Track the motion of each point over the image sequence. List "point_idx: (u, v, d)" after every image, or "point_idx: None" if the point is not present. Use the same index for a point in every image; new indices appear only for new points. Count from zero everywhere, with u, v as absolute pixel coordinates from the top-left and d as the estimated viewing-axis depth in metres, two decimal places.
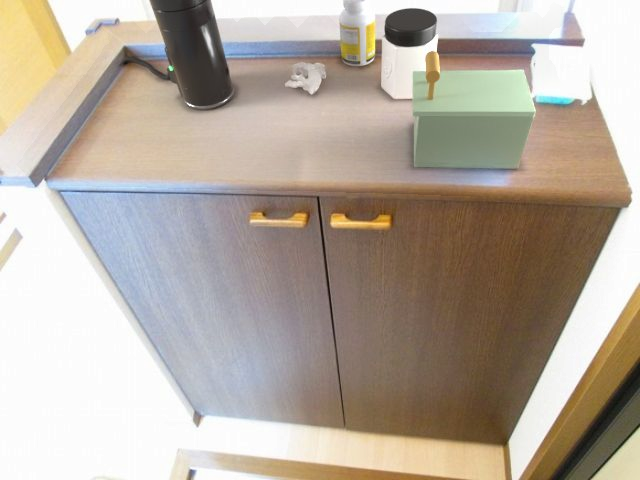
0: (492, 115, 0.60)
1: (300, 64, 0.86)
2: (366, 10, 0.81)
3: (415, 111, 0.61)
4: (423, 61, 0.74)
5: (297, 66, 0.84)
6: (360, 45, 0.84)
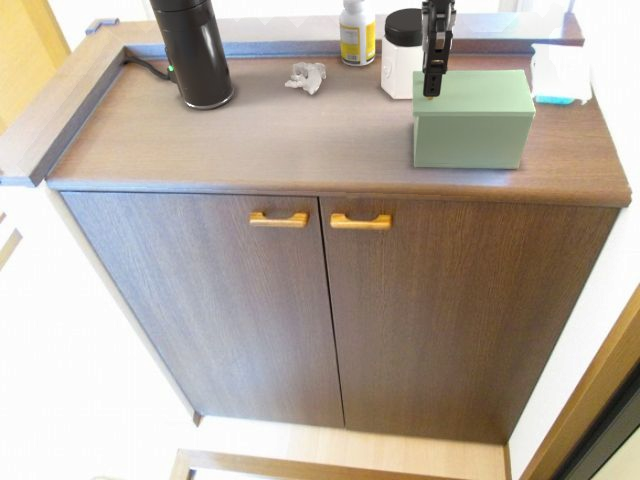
0: (492, 115, 0.60)
1: (300, 64, 0.86)
2: (366, 10, 0.81)
3: (415, 111, 0.61)
4: None
5: (297, 66, 0.84)
6: (360, 45, 0.84)
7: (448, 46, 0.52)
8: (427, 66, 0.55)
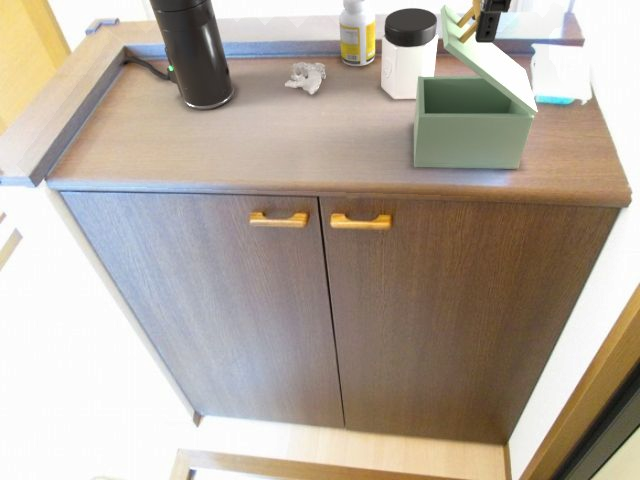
0: (505, 93, 0.57)
1: (300, 64, 0.86)
2: (366, 10, 0.81)
3: (450, 44, 0.54)
4: (423, 61, 0.74)
5: (297, 66, 0.84)
6: (360, 45, 0.84)
7: None
8: (488, 1, 0.49)
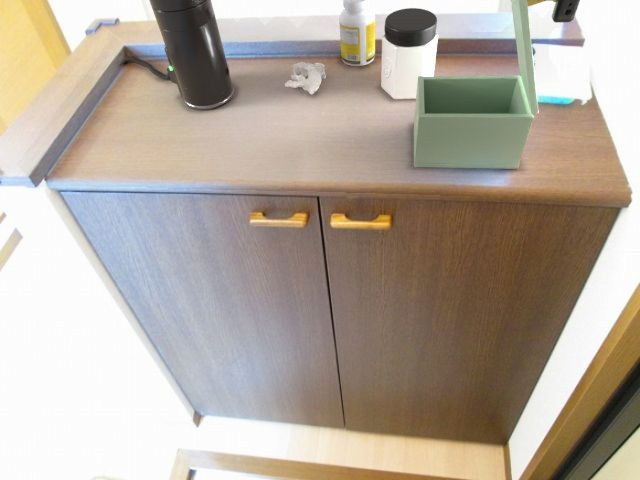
0: (529, 79, 0.56)
1: (300, 64, 0.86)
2: (366, 10, 0.81)
3: None
4: (423, 61, 0.74)
5: (297, 66, 0.84)
6: (360, 45, 0.84)
7: None
8: None
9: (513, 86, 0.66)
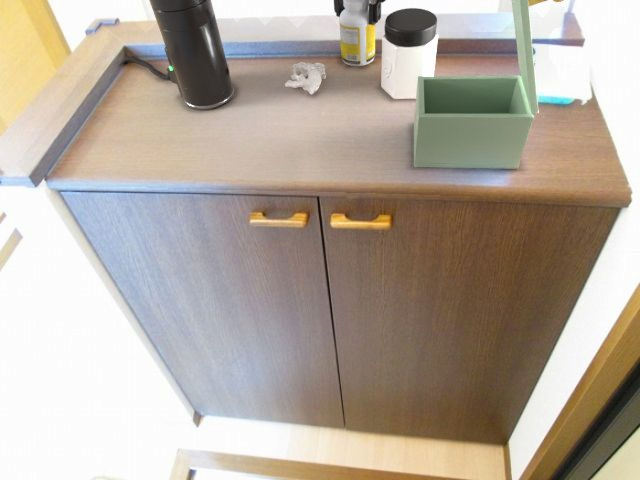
0: (529, 79, 0.56)
1: (300, 64, 0.86)
2: (366, 10, 0.81)
3: None
4: (423, 61, 0.74)
5: (297, 66, 0.84)
6: (360, 45, 0.84)
7: None
8: None
9: (513, 86, 0.66)
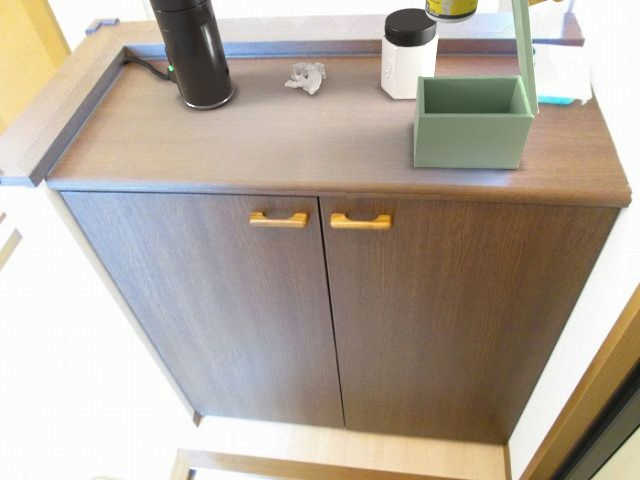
0: (529, 79, 0.56)
1: (300, 64, 0.86)
2: None
3: None
4: (423, 61, 0.74)
5: (297, 66, 0.84)
6: None
7: None
8: None
9: (513, 86, 0.66)
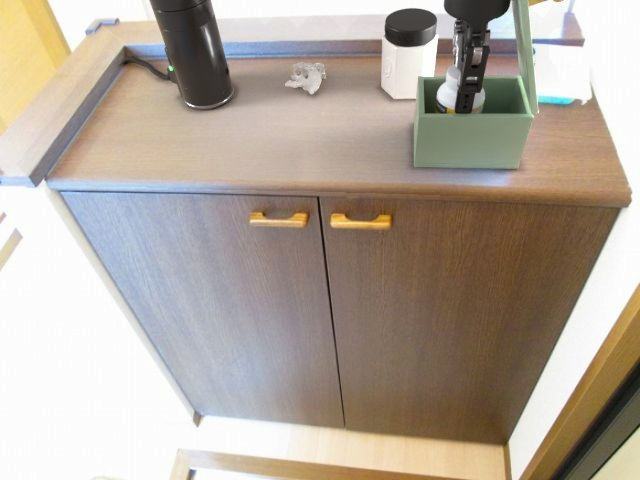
0: (529, 79, 0.56)
1: (300, 64, 0.86)
2: None
3: None
4: (423, 61, 0.74)
5: (297, 66, 0.84)
6: None
7: None
8: None
9: (513, 86, 0.66)
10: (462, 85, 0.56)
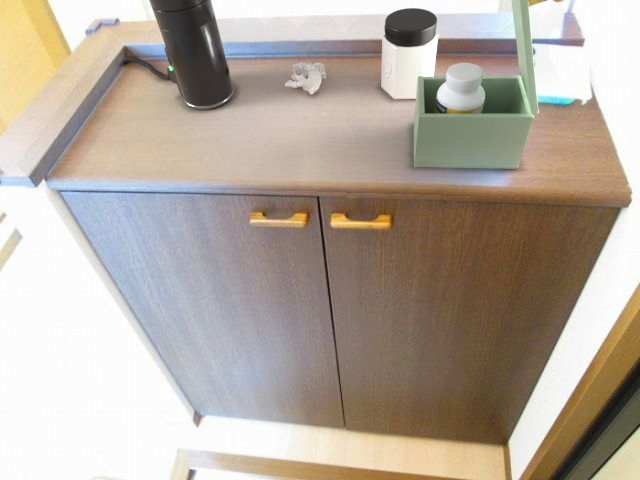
0: (529, 79, 0.56)
1: (300, 64, 0.86)
2: None
3: None
4: (423, 61, 0.74)
5: (297, 66, 0.84)
6: None
7: None
8: None
9: (513, 86, 0.66)
10: None
